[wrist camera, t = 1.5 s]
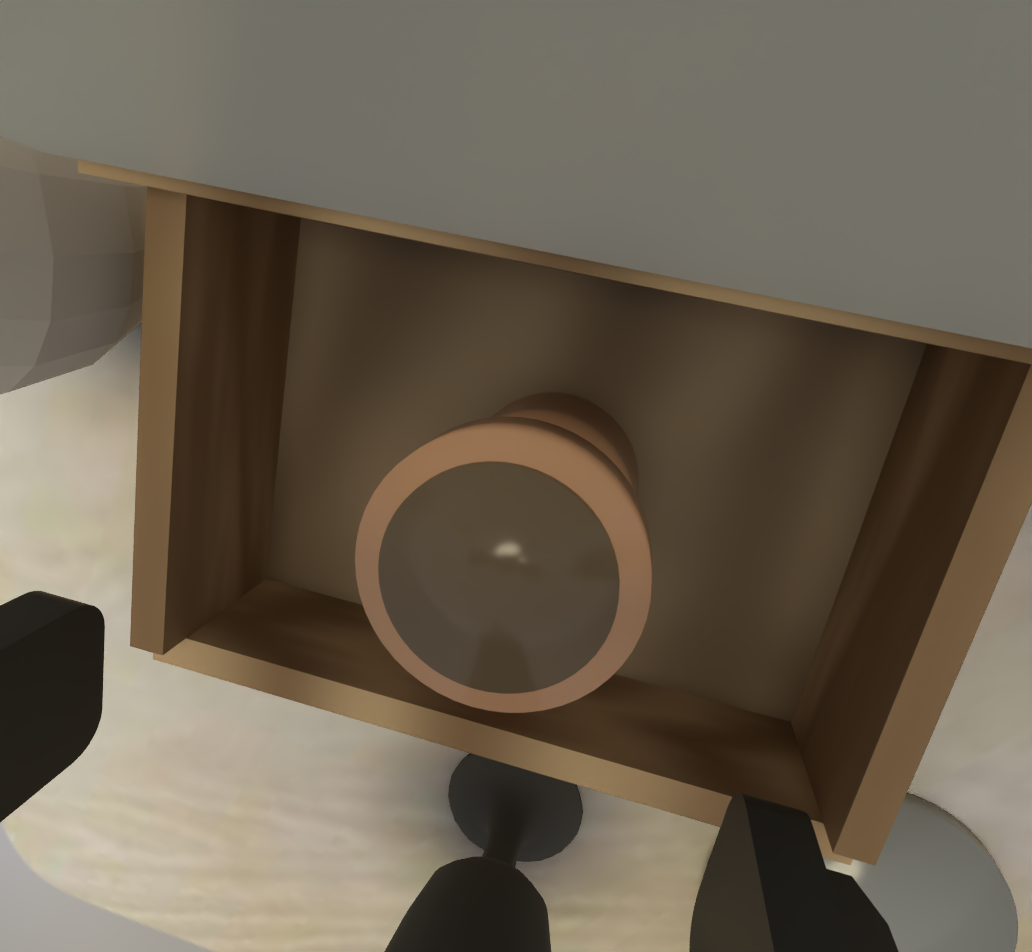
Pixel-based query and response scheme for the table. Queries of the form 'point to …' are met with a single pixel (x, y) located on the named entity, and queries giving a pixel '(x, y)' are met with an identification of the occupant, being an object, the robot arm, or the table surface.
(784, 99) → the frame lid
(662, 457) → the box
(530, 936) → the sundae
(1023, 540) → the table surface
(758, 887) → the robot arm
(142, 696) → the table surface
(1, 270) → the soap bottle
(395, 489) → the clay pot
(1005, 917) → the slate saucer
